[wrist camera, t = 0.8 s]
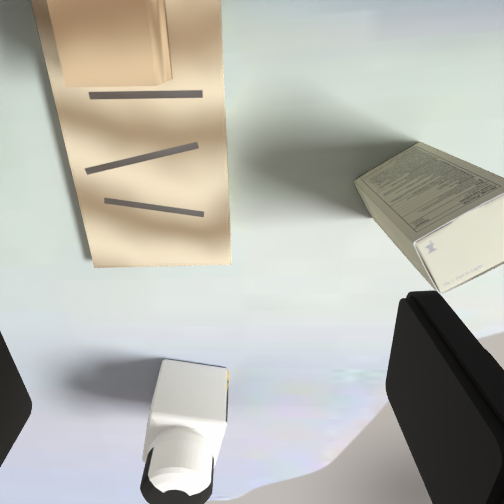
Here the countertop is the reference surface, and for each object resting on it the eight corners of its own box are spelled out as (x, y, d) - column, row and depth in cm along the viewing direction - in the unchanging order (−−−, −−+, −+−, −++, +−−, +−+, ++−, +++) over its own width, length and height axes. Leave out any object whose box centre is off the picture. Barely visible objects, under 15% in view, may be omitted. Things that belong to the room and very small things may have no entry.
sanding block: (74, -67, 23) (23, -103, 17) (158, -68, 23) (133, -104, 18) (100, 80, 26) (65, 87, 21) (172, 78, 27) (156, 86, 21)
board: (20, -82, 23) (9, -89, 22) (217, -84, 24) (215, -90, 22) (98, 261, 35) (94, 267, 33) (231, 258, 35) (231, 264, 34)
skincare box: (372, 219, 33) (435, 300, 23) (350, 178, 32) (408, 244, 21) (441, 181, 32) (544, 248, 21) (422, 136, 30) (524, 183, 19)
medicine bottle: (217, 411, 44) (210, 525, 34) (155, 403, 43) (128, 518, 33) (229, 366, 41) (225, 477, 30) (162, 357, 40) (135, 467, 29)
